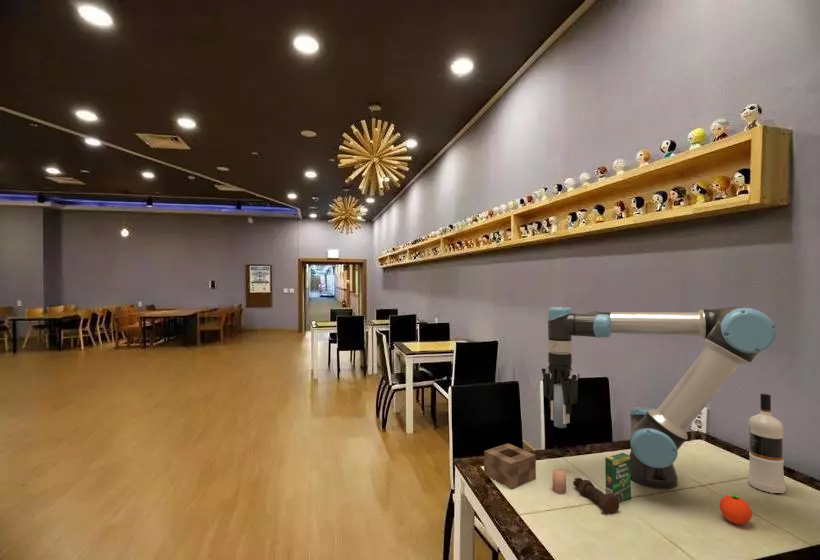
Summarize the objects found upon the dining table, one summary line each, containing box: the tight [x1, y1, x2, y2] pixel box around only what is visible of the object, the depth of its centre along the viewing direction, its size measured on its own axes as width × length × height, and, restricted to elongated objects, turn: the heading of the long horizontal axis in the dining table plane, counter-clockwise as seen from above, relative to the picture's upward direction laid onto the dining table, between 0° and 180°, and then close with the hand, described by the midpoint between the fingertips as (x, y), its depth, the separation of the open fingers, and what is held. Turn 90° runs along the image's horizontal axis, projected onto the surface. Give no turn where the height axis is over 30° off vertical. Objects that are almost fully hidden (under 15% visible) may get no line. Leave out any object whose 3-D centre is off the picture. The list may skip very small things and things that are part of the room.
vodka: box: [746, 393, 787, 494], centre depth 127 cm, size 9×9×30 cm
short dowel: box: [552, 468, 567, 495], centre depth 124 cm, size 4×4×6 cm
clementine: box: [718, 493, 753, 525], centre depth 108 cm, size 8×7×7 cm
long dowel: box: [553, 382, 568, 429], centre depth 135 cm, size 4×4×14 cm
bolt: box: [572, 477, 620, 515], centre depth 119 cm, size 6×5×15 cm
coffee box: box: [604, 452, 632, 503], centre depth 119 cm, size 8×3×13 cm, turn 113°
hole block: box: [483, 442, 537, 490], centre depth 133 cm, size 12×12×8 cm
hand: (560, 421), depth 135 cm, fingers closed on long dowel, 4 cm apart
